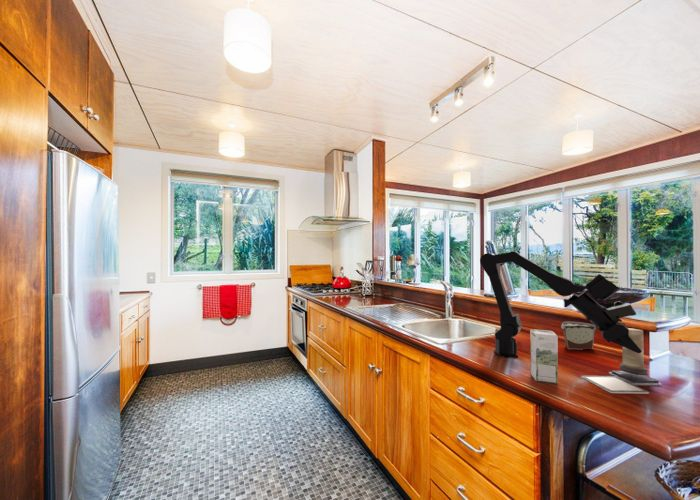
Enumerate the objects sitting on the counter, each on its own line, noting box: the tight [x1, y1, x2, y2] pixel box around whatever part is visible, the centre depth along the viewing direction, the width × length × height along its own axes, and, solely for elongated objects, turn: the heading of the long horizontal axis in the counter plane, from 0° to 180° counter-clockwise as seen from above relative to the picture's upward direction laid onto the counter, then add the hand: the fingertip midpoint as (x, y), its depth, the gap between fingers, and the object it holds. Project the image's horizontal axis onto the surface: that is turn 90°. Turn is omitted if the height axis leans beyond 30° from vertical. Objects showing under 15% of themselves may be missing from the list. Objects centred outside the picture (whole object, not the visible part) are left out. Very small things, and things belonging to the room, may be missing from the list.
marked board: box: [580, 375, 650, 395], centre depth 82 cm, size 10×10×1 cm
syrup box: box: [529, 328, 559, 384], centre depth 86 cm, size 6×6×14 cm
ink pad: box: [608, 370, 663, 386], centre depth 86 cm, size 8×8×1 cm
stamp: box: [619, 327, 648, 376], centre depth 86 cm, size 6×6×13 cm
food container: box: [560, 321, 597, 350], centre depth 117 cm, size 12×6×10 cm, turn 84°
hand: (639, 350), depth 85 cm, fingers closed on stamp, 5 cm apart
